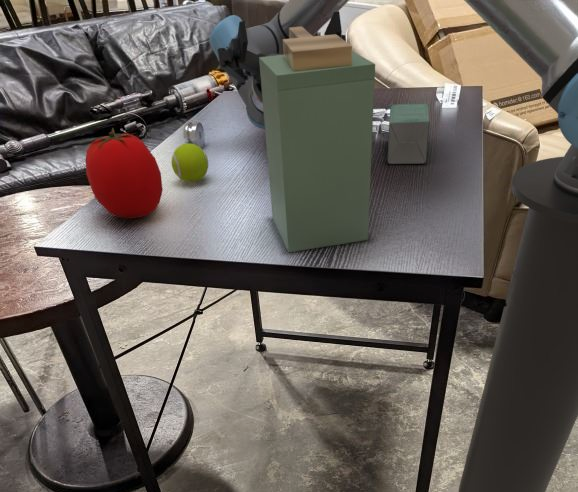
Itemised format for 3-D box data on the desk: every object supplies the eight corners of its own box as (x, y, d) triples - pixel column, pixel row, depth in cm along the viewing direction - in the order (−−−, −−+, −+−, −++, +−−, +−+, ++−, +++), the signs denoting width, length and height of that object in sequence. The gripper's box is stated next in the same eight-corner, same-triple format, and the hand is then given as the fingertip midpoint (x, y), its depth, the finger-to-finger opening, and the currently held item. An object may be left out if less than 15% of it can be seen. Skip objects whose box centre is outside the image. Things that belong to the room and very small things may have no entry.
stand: (368, 240, 77) (375, 63, 62) (288, 252, 76) (276, 75, 61) (344, 208, 86) (345, 47, 71) (272, 219, 84) (258, 57, 70)
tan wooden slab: (351, 65, 62) (352, 45, 61) (293, 71, 62) (292, 51, 61) (319, 37, 78) (318, 21, 77) (272, 42, 78) (271, 25, 77)
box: (424, 141, 108) (428, 101, 104) (426, 164, 99) (430, 121, 94) (388, 141, 110) (390, 102, 105) (387, 165, 100) (389, 122, 95)
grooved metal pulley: (197, 151, 113) (193, 126, 109) (185, 150, 113) (180, 126, 110) (206, 143, 116) (202, 119, 113) (193, 143, 117) (189, 119, 114)
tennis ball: (171, 179, 101) (163, 143, 96) (204, 172, 103) (198, 136, 98) (181, 190, 96) (174, 152, 92) (216, 182, 98) (210, 145, 94)
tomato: (152, 232, 84) (130, 145, 75) (85, 227, 87) (57, 143, 78) (182, 202, 92) (166, 121, 83) (120, 199, 95) (98, 120, 86)
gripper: (342, 98, 97) (379, 46, 76) (208, 115, 94) (208, 66, 73) (336, 53, 95) (372, -12, 74) (200, 69, 92) (197, 6, 71)
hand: (291, 26), depth 74 cm, fingers open, 13 cm apart
